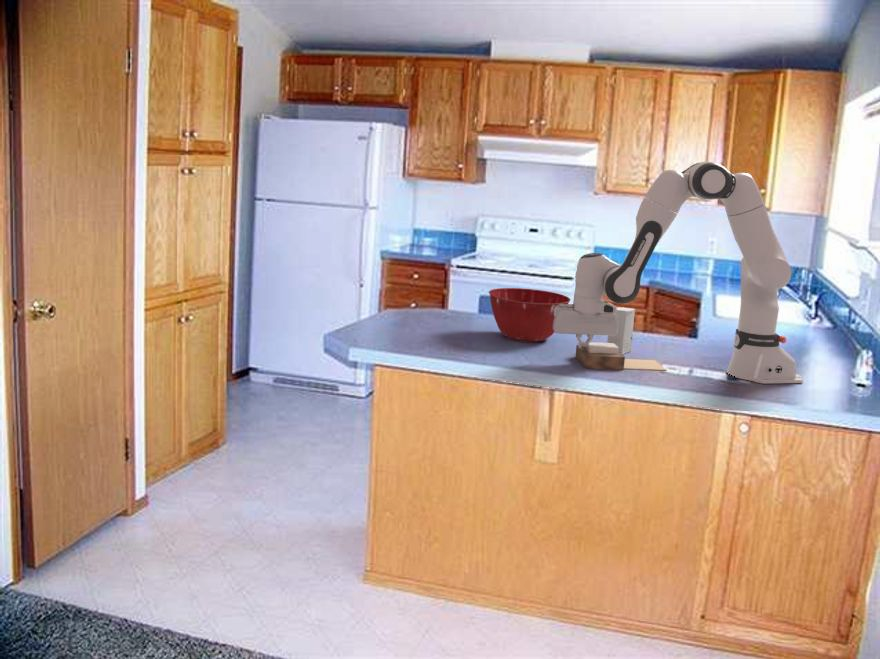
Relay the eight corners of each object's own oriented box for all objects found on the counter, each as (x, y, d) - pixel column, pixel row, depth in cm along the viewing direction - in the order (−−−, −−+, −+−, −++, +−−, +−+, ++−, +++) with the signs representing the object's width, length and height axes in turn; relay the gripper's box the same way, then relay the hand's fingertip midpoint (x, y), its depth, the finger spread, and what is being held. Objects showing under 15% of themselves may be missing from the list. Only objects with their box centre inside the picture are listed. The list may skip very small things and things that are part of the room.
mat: (654, 361, 284) (654, 360, 284) (666, 370, 273) (666, 369, 273) (612, 359, 283) (612, 358, 283) (622, 368, 271) (622, 367, 271)
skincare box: (622, 355, 289) (626, 311, 286) (605, 352, 292) (609, 308, 289) (631, 351, 296) (636, 308, 293) (614, 348, 299) (619, 305, 296)
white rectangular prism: (613, 349, 279) (613, 343, 279) (618, 353, 273) (618, 347, 273) (585, 348, 279) (586, 342, 278) (589, 352, 273) (590, 346, 272)
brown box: (611, 358, 284) (613, 346, 283) (623, 369, 270) (624, 357, 270) (575, 356, 283) (576, 344, 282) (585, 368, 270) (586, 355, 269)
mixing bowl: (564, 332, 319) (568, 291, 316) (568, 350, 291) (572, 305, 288) (487, 326, 322) (490, 285, 318) (483, 343, 294) (486, 298, 291)
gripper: (556, 305, 268) (552, 349, 271) (621, 308, 270) (617, 351, 273) (552, 301, 275) (548, 344, 278) (616, 304, 276) (612, 347, 279)
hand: (583, 348), depth 275 cm, fingers closed
